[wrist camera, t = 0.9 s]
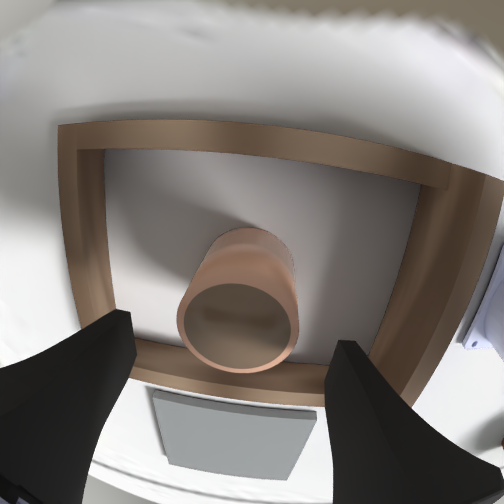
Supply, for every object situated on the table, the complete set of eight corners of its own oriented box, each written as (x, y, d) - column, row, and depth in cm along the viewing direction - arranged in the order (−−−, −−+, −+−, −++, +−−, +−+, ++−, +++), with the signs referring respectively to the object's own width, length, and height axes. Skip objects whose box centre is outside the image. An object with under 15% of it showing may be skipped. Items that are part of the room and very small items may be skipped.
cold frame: (445, 161, 12) (506, 182, 8) (373, 379, 18) (389, 437, 13) (87, 122, 13) (21, 129, 8) (108, 344, 19) (75, 393, 14)
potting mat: (316, 411, 20) (316, 419, 19) (286, 474, 24) (286, 480, 24) (155, 389, 20) (152, 397, 19) (170, 458, 25) (169, 463, 24)
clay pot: (300, 233, 15) (310, 284, 10) (286, 312, 16) (287, 379, 12) (206, 222, 15) (174, 267, 10) (203, 301, 17) (178, 364, 12)
